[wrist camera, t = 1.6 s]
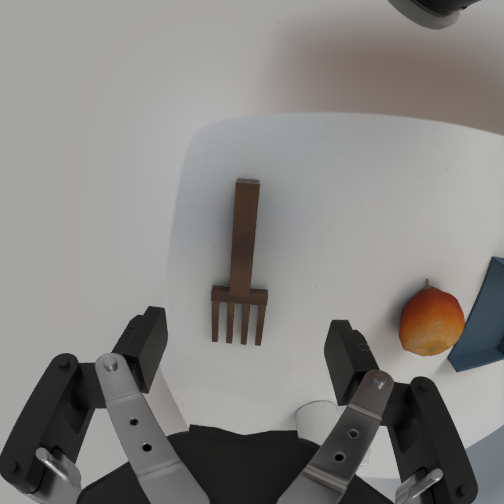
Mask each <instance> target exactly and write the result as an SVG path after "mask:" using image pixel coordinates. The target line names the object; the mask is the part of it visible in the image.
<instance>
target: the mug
mask: <svg viewBox="0 0 504 504" xmlns="http://www.w3.org/2000/svg"><path fill="white" fill-rule="evenodd" d="M339 418H340V417H339V414H338V410H337V407H336V405H335V404H333V403H332V402H328V401H317V402H313V403H309V404H307V405H305V406H303V407H301V408H300V409H299V410H298V411H297V413H296V425H297V431H298V437H300V438H304V439H307V440H310V441H313V442H315V443H317V444H318V445H320V446H321V445H322V444H323V443H324V441H325V440H326V438H327V437H328V435H329V434H330V432H331V431H332V429H333V428H334V426H335V425H336V423H337V422H338V420H339ZM370 452H371V445H370V447H369V449H368V450H367V452H366V454H365V456H364V458H363V460H362V462H361V464H360V465H359V467H361V466H367V465H368V460H369V456H370Z"/></svg>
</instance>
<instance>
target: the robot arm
mask: <svg viewBox="0 0 504 504" xmlns="http://www.w3.org/2000/svg"><path fill="white" fill-rule="evenodd" d="M411 1H412V2H413V3H414V4H416V5H417V6H418V7H420V8H421V9H423V10H424V11H426V12H428V13H430V14H433V15H435V16H439V17H446V16H449V15H451V14H452V13H453V12H455V11H457V10H459V9H462V8H463V9H465V8H466V7H468V6H469V5H471V4H473V3H476V2H478V1H480V0H411ZM463 9H462V10H463ZM167 340H168V331H167V322H166V313H165V309H164V308H161V307H152V306H149V307H148V308H147V310H146V311H145V313H144V315H137V316H136V317H134V318H133V319H132V320H131V321H130V322H129V324H128V325H127V328H126V329H125V330H124V332H123V334H122V335H121V337H120V338H119V340H118V342H117V344H116V345H115V347H114V349H113V350H112V352H111V353H108V354H105V355H102V356H100V357H99V358H98V359H97V361H96V363H79V362H78V360H77V358H76V357H75V356H74V355H72V354H69V353H63V354H60V355H58V356H56V357H55V358H54V359H53V360H52V361H51V363H50V364H49V366H48V368H47V369H46V371H45V372H44V374H43V376H42V377H41V379H40V380H39V382H38V384H37V385H36V387H35V389H34V391H33V392H32V394H31V396H30V397H29V399H28V401H27V403H26V405H25V406H24V408H23V410H22V412H21V414H20V416H19V418H18V419H17V421H16V423H15V425H14V427H13V430H12V431H11V433H10V435H9V438H8V440H7V442H6V444H5V446H4V448H3V451H2V453H1V455H0V474H1V476H2V477H3V478H4V479H5V480H6V481H7V482H9V483H10V484H11V485H13V486H14V487H16V489H17V490H18V491H20V492H21V493H23V494H24V495H26V496H27V497H29V498H30V499H32V500H33V501H35V502H37V503H40V504H394V503H393V502H392V501H391V500H389V499H388V498H387V497H385V496H384V495H383V494H381V493H380V492H378V491H377V490H376V489H374V488H373V487H372V486H370V485H369V484H368V483H366V482H365V481H364V480H362V479H361V478H360V477H358V476H357V475H356V474H355V473H356V471H357V469H358V467H359V465H360V464H361V462H362V460H363V458H364V456H365V454H366V452H367V450H368V449H369V447H370V445H371V443H372V441H373V438H374V436H375V434H376V432H377V430H378V428H379V426H380V425H381V426H387V429H388V432H389V436H390V439H391V443H392V447H393V450H394V454H395V458H396V462H397V466H398V470H399V474H400V479H401V483H402V484H400V486H399V487H398V488H397V491H396V498H395V504H471V503H472V502H473V501H474V500H475V498H476V496H477V493H478V485H477V482H476V479H475V476H474V473H473V470H472V467H471V465H470V462H469V459H468V457H467V454H466V451H465V449H464V446H463V444H462V441H461V439H460V437H459V434H458V432H457V430H456V427H455V425H454V423H453V421H452V418H451V416H450V414H449V412H448V410H447V407H446V405H445V403H444V401H443V399H442V397H441V395H440V393H439V391H438V389H437V387H436V385H435V384H434V382H433V381H432V380H430V379H428V378H426V377H422V376H419V377H415V378H414V379H413V380H412V381H411V383H410V384H404V383H397V382H394V381H393V378H392V377H391V376H390V375H389V374H388V373H386V372H384V371H381V370H380V369H379V367H378V365H377V363H376V361H375V358H374V356H373V354H372V352H371V351H370V348H369V346H368V345H367V342H366V340H365V338H364V336H363V335H362V334H361V333H360V332H359V331H358V330H352V327H351V325H350V323H349V321H348V320H332V321H331V324H330V328H329V331H328V335H327V338H326V342H325V346H324V355H325V359H326V363H327V366H328V370H329V373H330V377H331V381H332V384H333V388H334V392H335V395H336V399H337V403H338V406H345V405H347V407H346V409H345V410H344V412H343V414H342V415H341V417H340V418H339V420H338V422H337V423H336V425H335V426H334V428H333V429H332V431H331V432H330V434H329V435H328V437H327V438H326V440H325V441H324V443H323V444H322V445H321V446H320V445H318V444H317V443H315V442H313V441H310V440H307V439H304V438H300V437H298V431H297V430H289V431H267V432H261V433H256V434H250V435H240V434H237V433H233V432H230V431H226V430H223V429H219V428H216V427H207V426H199V425H191V424H190V427H189V431H185V432H179V433H175V434H172V435H169V436H167V437H166V436H165V434H164V433H163V431H162V429H161V427H160V426H159V424H158V422H157V421H156V419H155V417H154V415H153V413H152V411H151V409H150V407H149V405H148V403H147V401H146V399H145V398H144V396H143V394H142V393H147V394H148V393H149V390H150V387H151V385H152V382H153V379H154V377H155V374H156V371H157V369H158V366H159V363H160V361H161V358H162V355H163V353H164V350H165V348H166V345H167ZM95 408H107V410H108V413H109V415H110V418H111V421H112V423H113V426H114V428H115V431H116V433H117V435H118V438H119V440H120V442H121V445H122V447H123V449H124V451H125V454H126V456H127V457H128V460H129V461H128V462H127V463H125V464H123V465H122V466H120V467H119V468H117V469H116V470H114V471H112V472H110V473H109V474H107V475H105V476H104V477H102V478H100V479H98V480H97V481H95V482H93V483H92V484H90V485H88V486H86V487H85V488H84V489H83V490H82V489H81V474H80V471H79V469H78V468H77V467H76V466H75V463H76V460H77V457H78V454H79V451H80V448H81V445H82V443H83V440H84V437H85V434H86V431H87V429H88V426H89V423H90V420H91V418H92V416H93V413H94V411H95Z"/></svg>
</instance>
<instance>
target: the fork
mask: <svg viewBox="0 0 504 504" xmlns="http://www.w3.org/2000/svg"><path fill="white" fill-rule="evenodd" d="M259 186H260V184H259V180H250V179H238V180H237V182H236V191H235V206H234V221H233V237H232V254H231V272H230V287H226V286H215V285H213V287H212V293H211V300H212V342H218V327H219V302H228V310H227V334H226V343H231V344H232V337H233V319H234V303H240V304H244V307H243V319H242V332H241V344H243V345H246V342H247V332H248V321H249V311H250V304H252V305H259V311H258V319H257V328H256V336H255V345H258V346H260V345H261V339H262V332H263V324H264V317H265V309H266V305H267V299H268V290H263V289H250V285H251V274H252V263H253V252H254V241H255V230H256V219H257V208H258V197H259Z"/></svg>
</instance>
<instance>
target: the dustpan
mask: <svg viewBox="0 0 504 504" xmlns="http://www.w3.org/2000/svg"><path fill="white" fill-rule="evenodd" d="M503 335H504V258H498V257H492V259H491V262H490V265H489V268H488V271H487V274H486V276H485V279H484V282H483V285H482V287H481V290H480V292H479V295H478V297H477V299H476V302H475V304H474V306H473V309H472V311H471V313H470V315H469V318H468V320H467V322H466V324H465V326H464V330H463V332H462V334H461V336H460V338H459V340H458V341H457V342H456V344H455V345H454V347H453V349H452V351H451V353H450V354H449V356H448V358H447V359H448V360H449V361H450V363H451V364H452V366H453V367H454V369H455V370H456V372H460V371H464V370H468V369H472V368H476V367H479V366H483V365H487V364H490V363H493V362H496V361H500V360H503V359H504V336H503ZM498 344H499V345H498Z"/></svg>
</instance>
